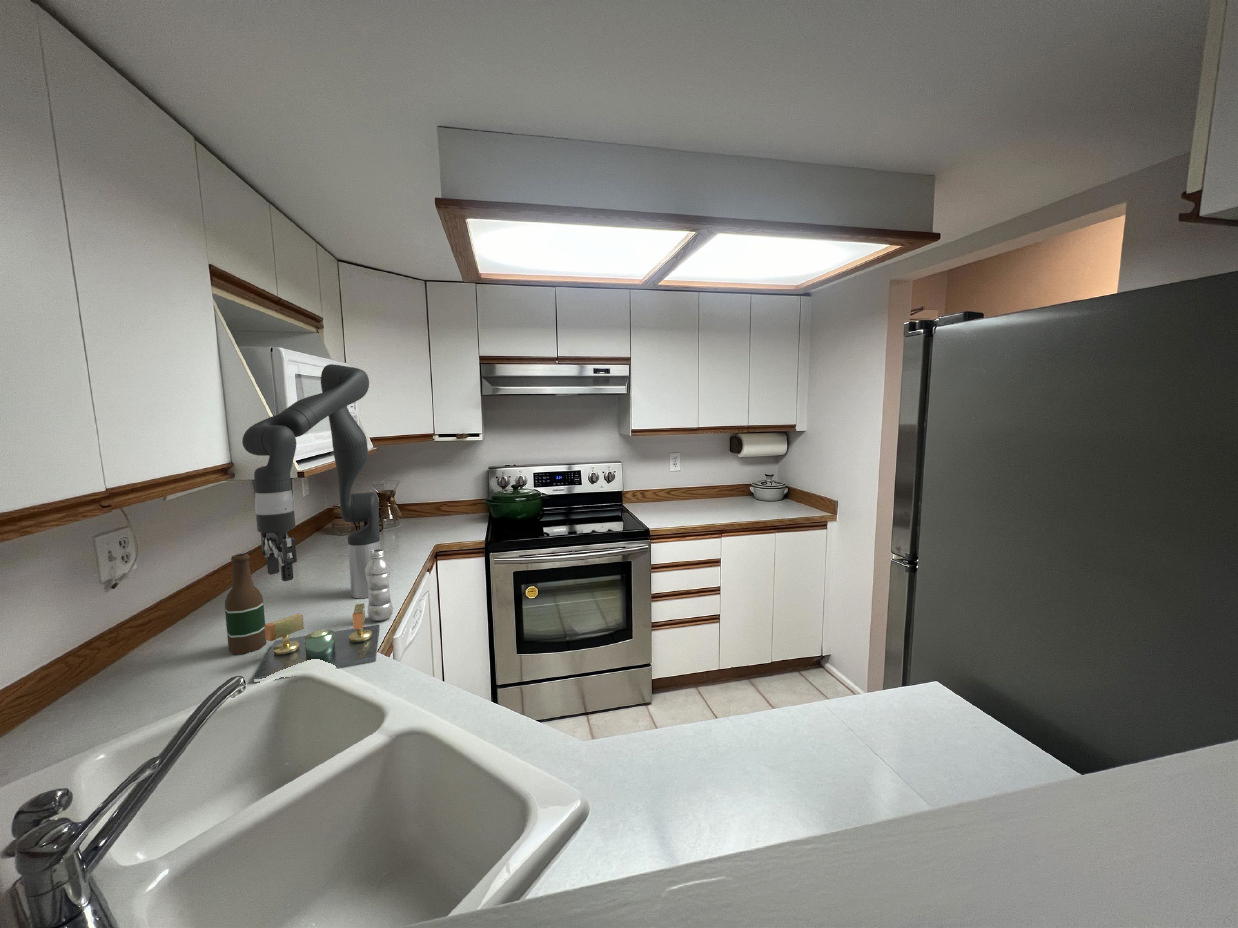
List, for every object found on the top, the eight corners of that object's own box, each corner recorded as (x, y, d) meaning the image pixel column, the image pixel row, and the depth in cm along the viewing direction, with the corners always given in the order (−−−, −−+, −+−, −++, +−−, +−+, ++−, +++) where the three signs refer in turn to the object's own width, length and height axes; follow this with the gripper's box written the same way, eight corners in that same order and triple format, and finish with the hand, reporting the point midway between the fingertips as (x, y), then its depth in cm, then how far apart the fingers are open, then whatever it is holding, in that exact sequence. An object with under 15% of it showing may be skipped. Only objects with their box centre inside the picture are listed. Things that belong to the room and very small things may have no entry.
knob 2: (350, 633, 131) (348, 605, 130) (372, 630, 133) (371, 602, 132) (347, 645, 124) (345, 615, 123) (370, 642, 126) (369, 612, 125)
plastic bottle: (383, 624, 140) (379, 554, 138) (362, 622, 141) (358, 553, 139) (398, 615, 146) (394, 548, 144) (377, 613, 147) (373, 547, 145)
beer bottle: (274, 642, 129) (267, 551, 127) (244, 656, 122) (236, 560, 119) (251, 639, 131) (243, 549, 129) (220, 653, 124) (211, 558, 121)
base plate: (275, 645, 128) (273, 619, 127) (379, 628, 137) (378, 604, 136) (253, 683, 109) (251, 653, 109) (375, 660, 119) (374, 633, 118)
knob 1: (296, 641, 126) (294, 611, 126) (308, 645, 124) (306, 615, 123) (263, 654, 120) (260, 623, 119) (275, 658, 117) (273, 627, 116)
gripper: (305, 511, 117) (310, 578, 119) (281, 504, 126) (286, 567, 127) (268, 516, 111) (274, 587, 113) (245, 509, 120) (251, 575, 121)
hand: (280, 576), depth 120 cm, fingers open, 8 cm apart
